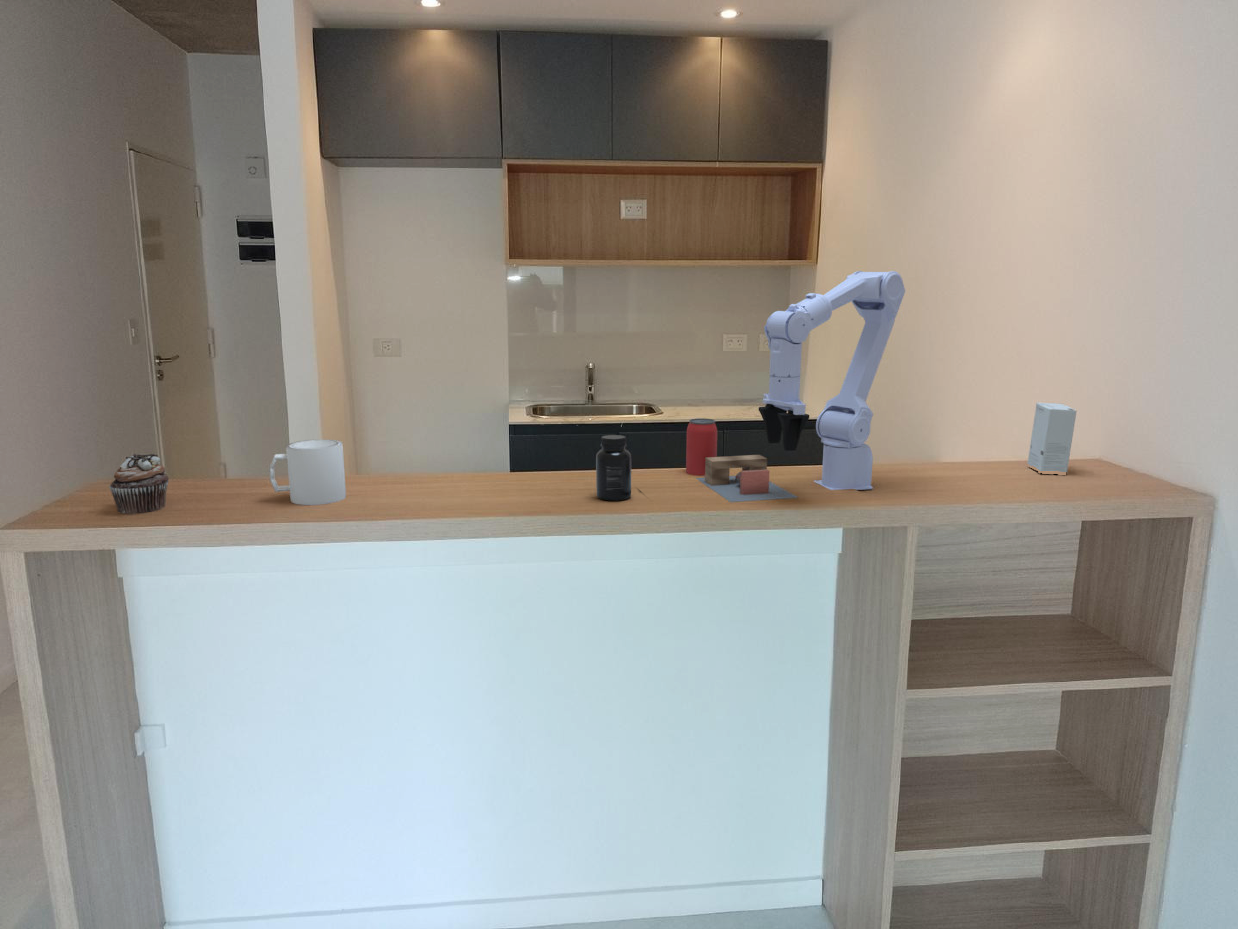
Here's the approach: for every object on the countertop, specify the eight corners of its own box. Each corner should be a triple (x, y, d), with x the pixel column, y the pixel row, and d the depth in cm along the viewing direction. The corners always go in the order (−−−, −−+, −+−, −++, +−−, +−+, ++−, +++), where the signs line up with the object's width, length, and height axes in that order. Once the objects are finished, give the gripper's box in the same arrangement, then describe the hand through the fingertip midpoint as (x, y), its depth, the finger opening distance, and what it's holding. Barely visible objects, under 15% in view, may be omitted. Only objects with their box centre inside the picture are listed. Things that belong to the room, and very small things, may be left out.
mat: (757, 477, 186) (757, 474, 186) (798, 500, 167) (798, 497, 167) (695, 480, 183) (695, 478, 182) (730, 505, 164) (730, 501, 164)
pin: (768, 493, 170) (769, 470, 169) (741, 494, 169) (742, 472, 168) (754, 484, 177) (754, 463, 176) (728, 486, 176) (729, 464, 175)
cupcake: (121, 503, 164) (115, 451, 162) (177, 500, 166) (171, 449, 164) (104, 516, 155) (97, 462, 153) (163, 513, 157) (157, 459, 155)
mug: (270, 508, 161) (265, 452, 158) (273, 495, 170) (269, 441, 168) (346, 502, 165) (342, 448, 162) (345, 490, 174) (342, 438, 172)
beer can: (714, 479, 184) (716, 423, 182) (683, 477, 186) (685, 422, 183) (717, 472, 191) (719, 418, 188) (687, 470, 192) (688, 417, 189)
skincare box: (1026, 467, 196) (1033, 402, 193) (1054, 467, 196) (1061, 402, 193) (1040, 475, 188) (1048, 407, 185) (1069, 476, 188) (1077, 408, 185)
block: (758, 477, 183) (759, 454, 182) (766, 482, 179) (767, 458, 178) (704, 481, 180) (705, 457, 179) (711, 485, 176) (712, 461, 175)
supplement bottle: (637, 495, 170) (638, 435, 168) (619, 503, 165) (620, 441, 162) (607, 491, 174) (607, 432, 171) (589, 498, 168) (589, 437, 166)
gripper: (750, 371, 169) (747, 440, 172) (781, 380, 155) (778, 455, 158) (783, 371, 171) (780, 438, 174) (817, 379, 157) (813, 453, 160)
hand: (781, 446), depth 166 cm, fingers open, 7 cm apart
